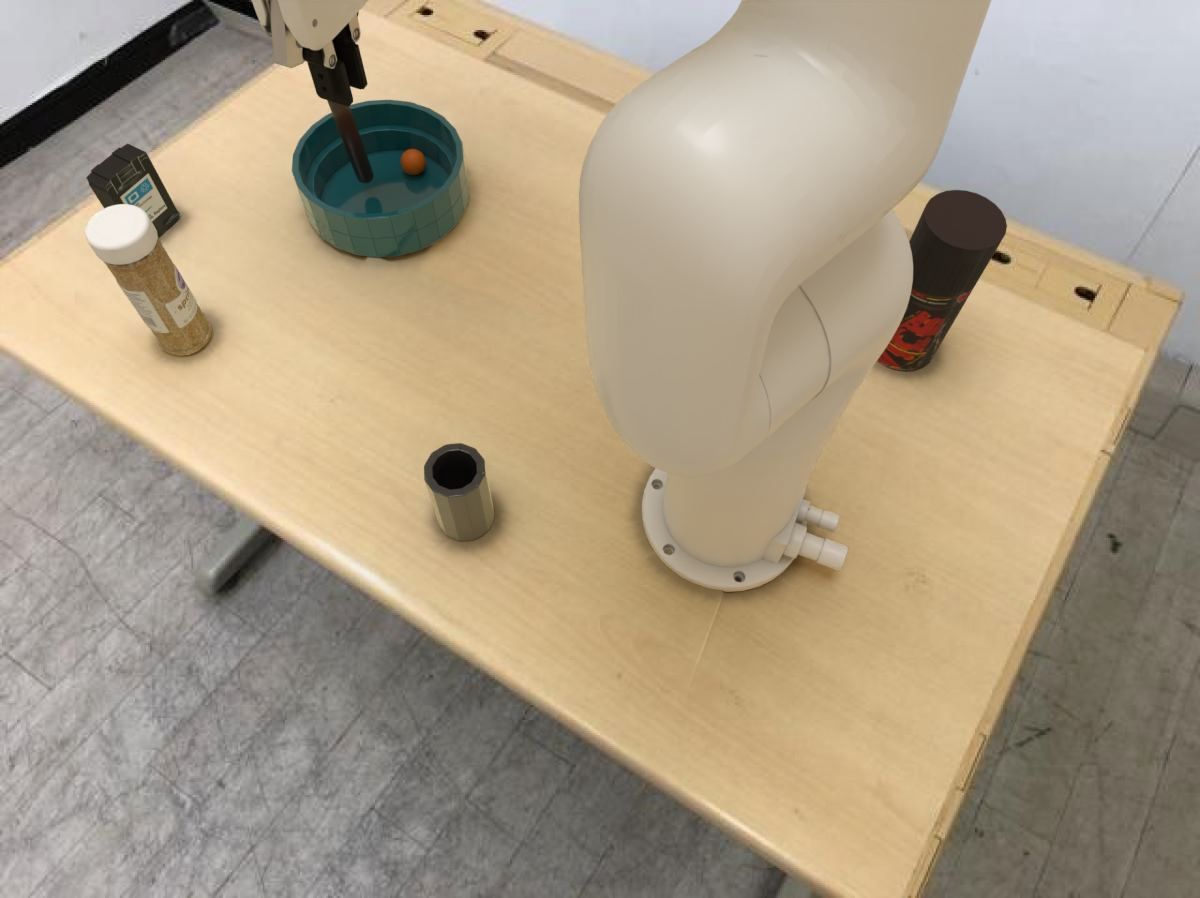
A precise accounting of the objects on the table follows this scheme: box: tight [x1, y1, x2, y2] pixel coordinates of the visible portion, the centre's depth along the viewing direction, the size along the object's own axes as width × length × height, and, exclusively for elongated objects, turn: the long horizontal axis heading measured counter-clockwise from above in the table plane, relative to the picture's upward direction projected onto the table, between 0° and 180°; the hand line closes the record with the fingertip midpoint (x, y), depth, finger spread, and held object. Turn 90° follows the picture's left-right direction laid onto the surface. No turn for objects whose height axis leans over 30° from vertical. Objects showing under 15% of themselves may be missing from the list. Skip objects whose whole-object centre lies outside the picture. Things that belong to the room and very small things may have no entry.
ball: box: [400, 149, 426, 175], centre depth 84 cm, size 2×2×2 cm
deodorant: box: [877, 189, 1008, 372], centre depth 71 cm, size 6×6×15 cm
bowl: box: [291, 99, 470, 258], centre depth 82 cm, size 15×15×6 cm
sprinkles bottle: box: [84, 204, 213, 357], centre depth 70 cm, size 5×5×14 cm
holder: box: [423, 442, 495, 542], centre depth 64 cm, size 4×4×8 cm
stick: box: [326, 100, 374, 184], centre depth 77 cm, size 2×2×16 cm
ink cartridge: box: [85, 143, 181, 239], centre depth 78 cm, size 5×2×8 cm, turn 150°
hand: (342, 90), depth 74 cm, fingers closed on stick, 1 cm apart
